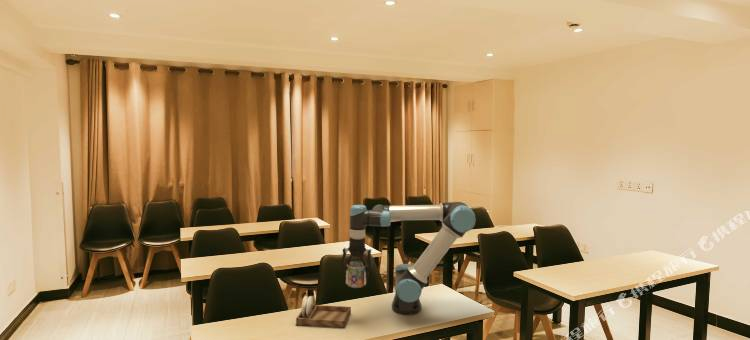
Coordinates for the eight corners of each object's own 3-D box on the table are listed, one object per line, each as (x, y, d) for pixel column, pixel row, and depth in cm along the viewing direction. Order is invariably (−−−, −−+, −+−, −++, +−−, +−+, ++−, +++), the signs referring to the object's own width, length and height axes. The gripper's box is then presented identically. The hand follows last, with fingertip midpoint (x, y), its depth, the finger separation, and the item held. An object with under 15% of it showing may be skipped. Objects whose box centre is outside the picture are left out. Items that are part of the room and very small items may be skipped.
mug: (366, 289, 209) (367, 267, 208) (346, 289, 207) (347, 267, 206) (363, 280, 221) (364, 259, 220) (345, 280, 219) (345, 259, 218)
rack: (350, 313, 222) (350, 306, 222) (344, 328, 205) (344, 321, 205) (306, 311, 225) (306, 304, 224) (296, 325, 208) (296, 318, 207)
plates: (313, 312, 220) (312, 293, 220) (307, 321, 211) (307, 300, 210) (307, 312, 221) (307, 292, 220) (301, 320, 211) (301, 300, 210)
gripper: (379, 236, 214) (378, 282, 216) (337, 234, 217) (336, 279, 219) (378, 240, 207) (376, 287, 209) (334, 237, 209) (333, 284, 211)
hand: (356, 283), depth 214 cm, fingers closed on mug, 8 cm apart
